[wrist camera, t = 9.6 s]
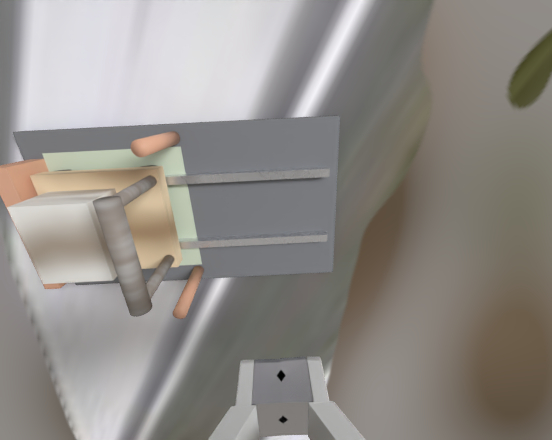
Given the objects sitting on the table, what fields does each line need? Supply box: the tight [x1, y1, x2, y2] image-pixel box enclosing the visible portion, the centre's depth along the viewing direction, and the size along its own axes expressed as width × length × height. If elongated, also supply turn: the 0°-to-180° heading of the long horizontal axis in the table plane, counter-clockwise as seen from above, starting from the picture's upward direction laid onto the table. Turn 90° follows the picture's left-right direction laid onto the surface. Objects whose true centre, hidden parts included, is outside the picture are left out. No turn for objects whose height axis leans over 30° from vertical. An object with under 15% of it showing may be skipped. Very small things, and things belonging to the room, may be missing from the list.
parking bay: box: [0, 131, 204, 319], centre depth 24 cm, size 16×15×7 cm
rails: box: [165, 166, 330, 249], centre depth 27 cm, size 8×28×1 cm, turn 93°
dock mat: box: [13, 116, 340, 285], centre depth 28 cm, size 17×30×1 cm, turn 93°
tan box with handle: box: [7, 165, 183, 316], centre depth 23 cm, size 10×11×10 cm
